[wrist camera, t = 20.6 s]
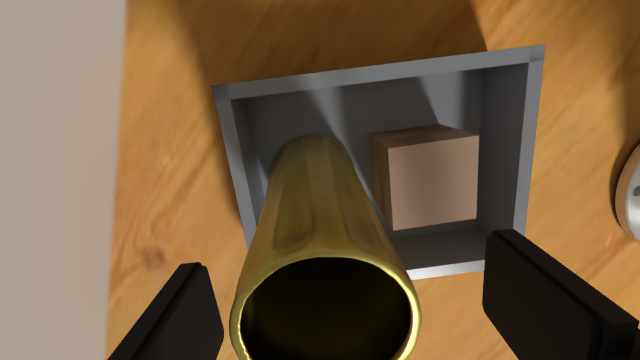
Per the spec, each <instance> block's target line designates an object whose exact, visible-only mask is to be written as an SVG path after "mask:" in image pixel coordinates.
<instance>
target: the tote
mask: <svg viewBox="0 0 640 360" xmlns="http://www.w3.org/2000/svg"><path fill="white" fill-rule="evenodd" d="M545 45H546V44H543V45H535V46H527V47H519V48H511V49H503V50H495V51H486V52H478V53H470V54H462V55H454V56H446V57H438V58H430V59H422V60H414V61H406V62H398V63H390V64H382V65H373V66H365V67H357V68H349V69H341V70H333V71H325V72H317V73H309V74H301V75H293V76H285V77H277V78H269V79H261V80H252V81H244V82H236V83H228V84H220V85H212V90H213V95H214V99H215V104H216V108H217V113H218V117H219V122H220V126H221V131H222V135H223V140H224V144H225V149H226V153H227V158H228V162H229V167H230V171H231V176H232V180H233V185H234V189H235V194H236V198H237V203H238V207H239V212H240V216H241V221H242V225H243V230H244V234H245V239H246V243H247V248H248V251H249V248H250V245H251V242H252V240H253V237H254V234H255V231H256V229H257V226H258V223H259V218H260V214H261V211H262V208H263V205H264V201H265V197H266V193H267V187H268V181H269V176H270V169H271V163H272V160H273V158H274V156H275V155H276V153H277V152H278V151H279V149H280V148H281V147H282V146H283V145H284V144H285V143H287V142H288V141H290V140H292V139H294V138H296V137H299V136H302V135H323V136H327V137H329V138H331V139H333V140H335V141H337V142H338V143H339V144H341V145H342V146H343V147H344V148H345V149H346V151H347V152H348V154H349V155H350V157H351V159H352V161H353V164H354V168H355V171H356V173H357V175H358V177H359V179H360V181H361V183H362V186H363V188H364V190H365V192H366V194H367V196H368V198H369V200H370V202H371V204H372V206H373V208H374V211H375V213H376V215H377V217H378V219H379V221H380V223H381V225H382V227H383V229H384V231H385V233H386V235H387V237H388V239H389V240H390V242H391V244H392V246H393V248H394V250H395V251H396V253H397V255H398V257H399V259H400V260H401V262H402V264H403V266H404V267H405V269H406V271H407V273H408V275H409V277H410V279H411V280H415V279H422V278H429V277H437V276H444V275H452V274H459V273H467V272H474V271H481V270H484V266H485V250H486V238H487V236H488V235H491V233H492V231H494V230H501V229H515V230H516V231H518V232H519V233H520V234H522V235H523V236H524V235H525V226H526V217H527V208H528V199H529V190H530V181H531V172H532V163H533V154H534V145H535V136H536V126H537V117H538V108H539V99H540V90H541V81H542V72H543V63H544V54H545ZM433 124H442V125H445V126H449V127H452V128H456V129H459V130H462V131H466V132H469V133H473V134H476V135H479V153H478V184H477V214H476V218H475V219H469V220H462V221H455V222H448V223H442V224H435V225H428V226H422V227H415V228H408V229H401V230H395V231H393V229H392V228H391V226H390V224H389V223H388V221H387V220H386V218H385V216H384V215H383V213H382V211H381V210H380V208H379V207H378V205H377V203H376V202H375V200H374V191H373V180H372V168H371V156H370V144H369V134H371V133H378V132H385V131H392V130H399V129H406V128H412V127H419V126H426V125H433Z"/></svg>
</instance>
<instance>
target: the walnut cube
mask: <svg viewBox="0 0 640 360" xmlns="http://www.w3.org/2000/svg"><path fill="white" fill-rule="evenodd" d="M369 144H370V156H371V168H372V180H373V191H374V200H375V202H376V203H377V205H378V207H379V208H380V210H381V211H382V213H383V215H384V216H385V218H386V220H387V221H388V223H389V224H390V226H391V228H392V229H393V231H395V230H401V229H408V228H415V227H422V226H428V225H435V224H442V223H448V222H455V221H462V220H469V219H475V218H476V214H477V184H478V153H479V135H476V134H473V133H469V132H466V131H462V130H459V129H456V128H452V127H449V126H445V125H442V124H433V125H426V126H419V127H412V128H406V129H399V130H392V131H385V132H378V133H371V134H369Z"/></svg>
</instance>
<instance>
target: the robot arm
mask: <svg viewBox="0 0 640 360" xmlns="http://www.w3.org/2000/svg"><path fill="white" fill-rule="evenodd" d="M615 207H616V213H617V218H618V220H619V222H620V225H621V227H622V228H623V230H624V231H625V232H626V233H627V234H628V236H630V237H631V238H633V239H634V240H636V241H637V242H639V243H640V143H639V145H638V146H637V147H636V148H635V149H634V151H633V153H632V154H631V156H630V157H629V159H628V160H627V162H626V164H625V166H624V168H623V171H622V173H621V175H620V177H619V181H618V185H617V189H616V198H615ZM482 305H483V309H484V312H485V314H486V315H487V317H488V318H489V319H490V321H491V322H492V324H493V325H494V326H495V328H496V329H497V330H498V332H499V333H500V334H501V336H502V337H503V339H504V340H505V341H506V343H507V344H508V345H509V347H510V348H511V350H512V351H513V352H514V354H515V355H516V356H517V358H518V359H519V360H640V329H638V325H639V321H638V320H637V319H636V318H634V317H633V316H632V315H630V314H629V313H628V312H626V311H625V310H623V309H622V308H621V307H619V306H618V305H617V304H615V303H614V302H613V301H611V300H610V299H609V298H607V297H606V296H604V295H603V294H602V293H600V292H599V291H598V290H596V289H595V288H594V287H592V286H591V285H590V284H588V283H587V282H585V281H584V280H583V279H581V278H580V277H579V276H577V275H576V274H575V273H573V272H572V271H571V270H569V269H568V268H566V267H565V266H564V265H562V264H561V263H560V262H558V261H557V260H556V259H554V258H553V257H551V256H550V255H549V254H547V253H546V252H545V251H543V250H542V249H541V248H539V247H538V246H537V245H535V244H534V243H532V242H531V241H530V240H528V239H527V238H526V237H524V236H523V235H522V234H520V233H519V232H518V231H516V230H515V229H501V230H494V231H492V233H491V235H488V236H487V238H486V250H485V266H484V283H483V299H482ZM223 339H224V328H223V324H222V321H221V317H220V313H219V310H218V306H217V302H216V299H215V295H214V291H213V288H212V284H211V280H210V277H209V273H208V270H207V267H206V266H202V265H201V263H199V262H195V263H185V264H181V265H180V266H179V267H178V268H177V269H176V271H175V272H174V273H173V275H172V276H171V277H170V279H169V280H168V281H167V283H166V284H165V285H164V286H163V288H162V289H161V290H160V292H159V293H158V294H157V296H156V297H155V298H154V299H153V301H152V302H151V303H150V305H149V306H148V307H147V309H146V310H145V311H144V313H143V314H142V315H141V316H140V318H139V319H138V320H137V322H136V323H135V324H134V326H133V327H132V328H131V330H130V331H129V332H128V333H127V335H126V336H125V337H124V339H123V340H122V341H121V343H120V344H119V345H118V347H117V348H116V349H115V350H114V352H113V353H112V354H111V356H110V357H109V358H108V360H216V358H217V356H218V353H219V350H220V348H221V345H222V342H223Z"/></svg>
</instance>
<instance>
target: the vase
mask: <svg viewBox="0 0 640 360" xmlns="http://www.w3.org/2000/svg"><path fill="white" fill-rule="evenodd" d="M421 321H422V316H421V308H420V303H419V299H418V296H417V293H416V291H415V288H414V286H413V283H412V281H411V279H410V277H409V275H408V273H407V271H406V269H405V267H404V266H403V264H402V262H401V260H400V259H399V257H398V255H397V253H396V251H395V250H394V248H393V246H392V244H391V242H390V240H389V239H388V237H387V235H386V233H385V231H384V229H383V227H382V225H381V223H380V221H379V219H378V217H377V215H376V213H375V211H374V208H373V206H372V204H371V202H370V200H369V198H368V196H367V194H366V192H365V190H364V188H363V186H362V183H361V181H360V179H359V177H358V175H357V173H356V171H355V168H354V164H353V161H352V159H351V157H350V155H349V154H348V152H347V151H346V149H345V148H344V147H343V146H342V145H341V144H339V143H338V142H337V141H335V140H333V139H331V138H329V137H327V136H323V135H302V136H299V137H296V138H294V139H292V140H290V141H288V142H287V143H285V144H284V145H283V146H282V147H281V148H280V149H279V151H278V152H277V153H276V155H275V156H274V158H273V160H272V163H271V169H270V176H269V181H268V187H267V193H266V197H265V201H264V205H263V208H262V211H261V214H260V218H259V223H258V226H257V229H256V231H255V234H254V237H253V240H252V242H251V245H250V248H249V251H248V254H247V257H246V260H245V263H244V265H243V268H242V271H241V274H240V278H239V281H238V285H237V289H236V294H235V298H234V302H233V305H232V309H231V312H230V320H229V335H230V339H231V343H232V346H233V348H234V350H235V352H236V354H237V356H238V358H239V360H407V359H408V357H409V356H410V354H411V353H412V351H413V349H414V347H415V344H416V342H417V339H418V336H419V332H420V328H421Z"/></svg>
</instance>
